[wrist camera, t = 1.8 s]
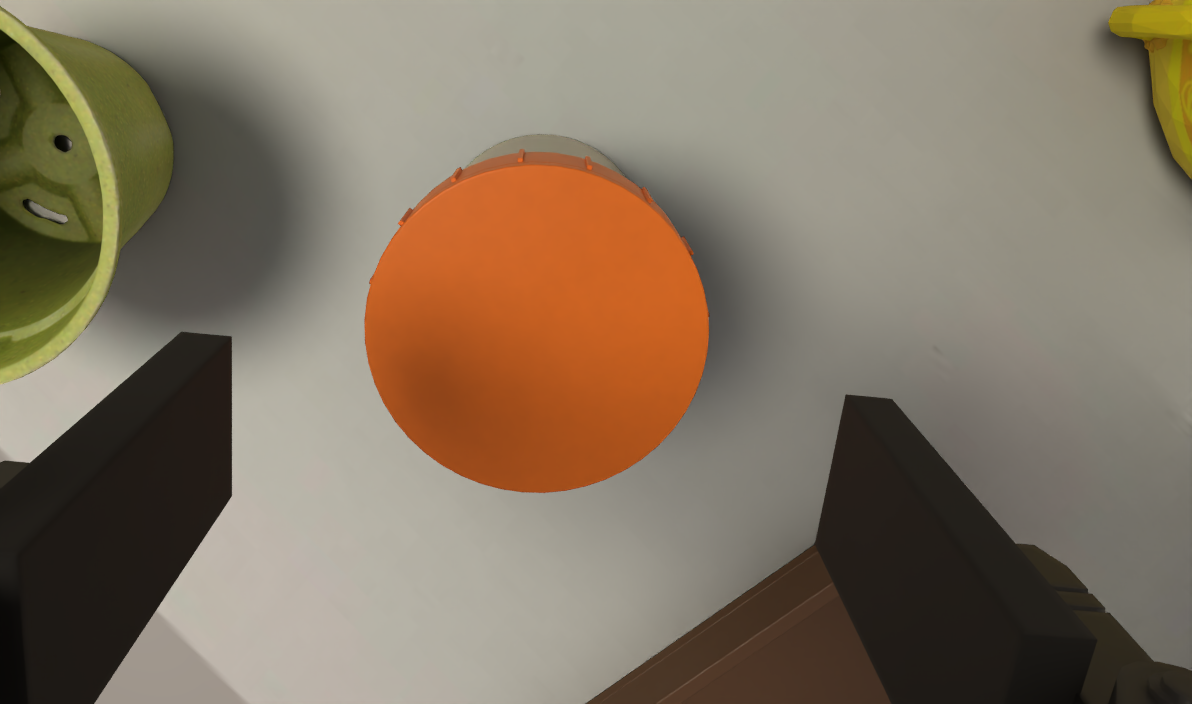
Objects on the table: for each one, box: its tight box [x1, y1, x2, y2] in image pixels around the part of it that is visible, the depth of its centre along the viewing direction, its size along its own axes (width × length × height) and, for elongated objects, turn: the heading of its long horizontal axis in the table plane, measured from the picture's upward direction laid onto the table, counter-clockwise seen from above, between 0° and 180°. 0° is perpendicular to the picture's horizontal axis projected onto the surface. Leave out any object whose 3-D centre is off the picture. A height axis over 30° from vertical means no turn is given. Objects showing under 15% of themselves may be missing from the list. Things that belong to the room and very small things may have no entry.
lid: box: [365, 149, 709, 493], centre depth 23 cm, size 8×8×2 cm
